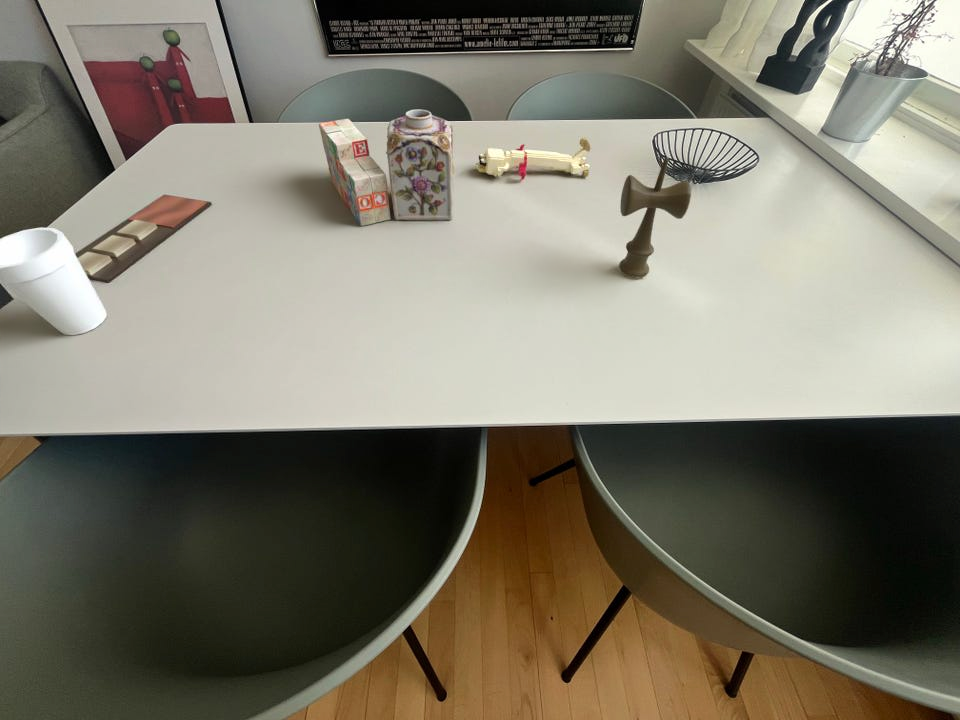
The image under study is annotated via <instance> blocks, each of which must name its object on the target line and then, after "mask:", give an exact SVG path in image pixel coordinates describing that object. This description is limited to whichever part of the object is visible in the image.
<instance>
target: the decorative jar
mask: <svg viewBox="0 0 960 720" xmlns="http://www.w3.org/2000/svg"><path fill="white" fill-rule="evenodd" d="M386 129H387V134H386V139H387V141H386V152H385V153H386V158H387V166H388V176H389V184H390V193H391V194H390V195H391V202H392V209H393V216H394V220H395V221H452V220H453V219H454V218H453V217H454V214H453V213H454V173H455V172H454V170H455V166H454V155H453V153H454V152H453V145H454V144H453V143H454V137H453V132H454V130H453V125H452V123H451V122H450V121H448V120H446V119H444V118H442V117H439V116H437V115H433V114H432V112H430V111H429V110H427V109H419V108H418V109H410V110H408V111H405V115H404V116H401V117H397V118H395V119H392V120H390V121H389V124H388V126H387V128H386Z"/></svg>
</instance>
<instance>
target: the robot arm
mask: <svg viewBox="0 0 960 720" xmlns="http://www.w3.org/2000/svg"><path fill="white" fill-rule="evenodd" d="M14 300H15V298H14V297H13V296H12V295H11V293H9V292H8V290H7V289H6V287H5V286H4V285H3V284H2V283H1V282H0V310H2V309H3V308H4V307H5V306H7V305H8V304H9V303H11V302H12V301H14Z"/></svg>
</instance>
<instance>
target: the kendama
mask: <svg viewBox="0 0 960 720" xmlns="http://www.w3.org/2000/svg"><path fill="white" fill-rule="evenodd" d="M668 165H669V156H665V157H664V159H663V161H662V163H661V167H660V170H659V173H658V176H657V179H656V181H655V185H654V187H650V186H646V184H645V185H644V184H643V183H642V182H641V181H640V180H639V179H637V178H636V177H635V176H634V175H632V174H629V175H628V176H626V179H625V180H624V183H623V187H622V190H621V196H620V205H619V206H620V214H621V217H627V216H630V215H632V214H634V213H636V212H638V211H639V210H642V209H646V210H645V213H644V216H643V217H642V220H641V222H640V224H639V227H638V229H637V231H636V233H635V235H634V237H633V238H632V240H629V241H628V242H626V245H625V249H626V251H627V253H626V255H625V256H624V258H622V259H621V260H620V261H619V263H618V268H619V271H620V272H621V273H622V274H623V275H625V276H627V277H631V278H643V277H646V276H647V275H648V274H649V273H650V266H649V265H648V263H647V262H648V259H649V257H650V256H652V255H653V254H654V252H655V248H654V245H652V233H653V227H654V221H655V216H656V211H657V209H659V210H662V211H665V212H666V213H668V214H669V215H671V216H672V217H674V218H675V219H678V220H679V219H683V218H684V216H685V215H686V213H687V211H688V209H689V206H690V204H691V197H692V186H691V183H690V181H688V180H683V181H680V182H677V183H675V184H673V185H670V186H667V187H663V183H664V180H665V176H666V172H667V169H668Z"/></svg>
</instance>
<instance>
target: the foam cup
mask: <svg viewBox="0 0 960 720" xmlns="http://www.w3.org/2000/svg"><path fill="white" fill-rule="evenodd" d="M74 251H75V250H74V245H72V244H71V242H70V241H69V240H68V238H67V237H66V235H65V234H64V233H63V231H60V230H58V229H57V228H55V227H35V228H29V229H23V230H20V231H18V232H14V233H11V234H8V235H6V236H3V237H1V238H0V283H1V285H2V286H4V287H5V288H7V289H8V290H9V291H10V292H11V293H12V294H14V295H15V296H16V297H18V298H19V299H20V300H21V301H23V302H24V304H26V305H28V307H30V308H31V309H32V310H33V311H34V312H35V313H37V314H38V315H39V316H41V318H43V319H44V320H45V321H46V322H48V323H49V324H50V325H51V326H52V327H54V328H55V329H56V330H58V332H59V333H61V334H63V335H65V336H76V335H81V334H85V333H87V332H90V331H92V330H94V329H96V328H97V327H98V326H100V325H101V324H102V323H103V322H104V321H105V320H106V318H107V316H108V315H107V310H106V309H105V306H104V304H103V302H102V301H101V299H100V297H99V295H98V293H97V291H96V289H95V288H94V286H93V284H92V282H91V279H88V277H87V275H86V273H85V271H84V269H83V268H82V266H81V264H80V262H79V260H78V258H77V257H76V255H75V253H76V252H74Z"/></svg>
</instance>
